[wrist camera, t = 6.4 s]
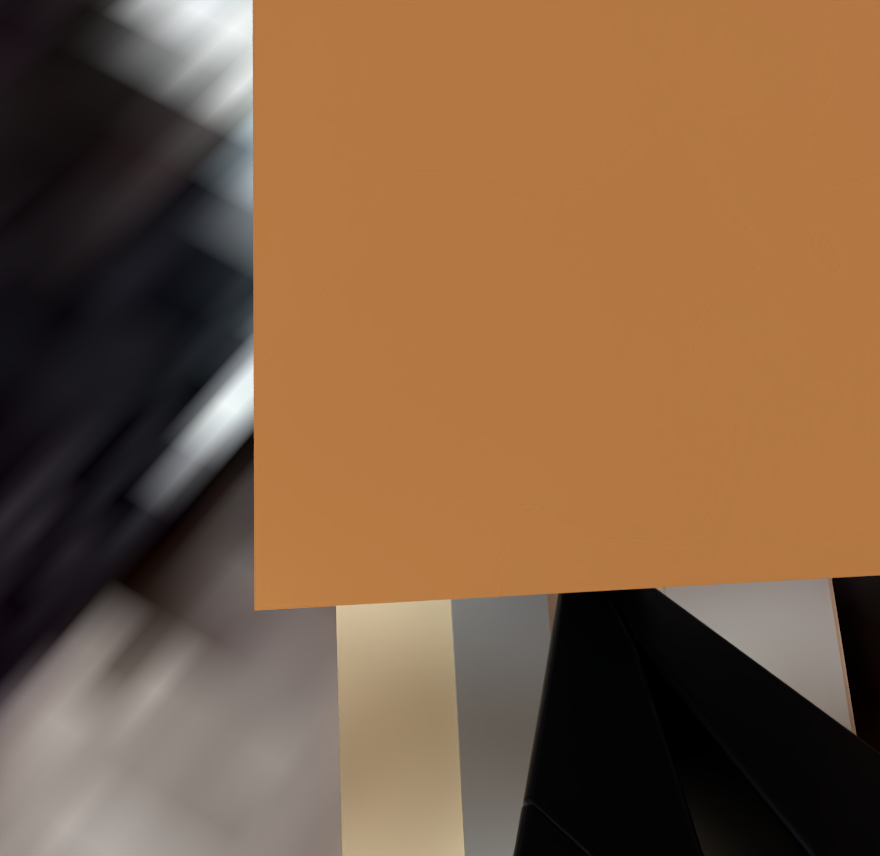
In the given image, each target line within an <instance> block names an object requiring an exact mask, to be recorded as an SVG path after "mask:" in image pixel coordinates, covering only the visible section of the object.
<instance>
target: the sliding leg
mask: <svg viewBox="0 0 880 856" xmlns="http://www.w3.org/2000/svg"><path fill="white" fill-rule="evenodd" d="M253 257H254V600H255V610H271V609H289V608H307V607H324V606H342V605H360V604H378V603H396V602H413V601H431V600H449V599H467V598H484V597H502V596H520V595H538V594H556V593H573V592H591V591H609V590H627V589H644V588H662V587H680V586H698V585H715V584H733V583H751V582H769V581H787V580H804V579H822V578H840V577H858V576H875V575H880V0H253Z"/></svg>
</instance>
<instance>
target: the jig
mask: <svg viewBox="0 0 880 856" xmlns="http://www.w3.org/2000/svg"><path fill="white" fill-rule="evenodd" d="M657 589H658V590H659V591H661V592H662V593H663V594H665V595H666V596H667V597H669V598H670V599H672V600H673V601H674V602H676V603H677V604H678V605H680V606H681V607H682V608H684V609H685V610H686V611H688V612H689V613H691V614H692V615H693V616H695V617H696V618H697V619H699V620H700V621H701V622H703V623H704V624H706V625H707V626H708V627H710V628H711V629H712V630H714V631H715V632H716V633H718V634H719V635H720V636H722V637H723V638H725V639H726V640H727V641H729V642H730V643H731V644H733V645H734V646H735V647H737V648H738V649H739V650H741V651H742V652H744V653H745V654H746V655H748V656H749V657H750V658H752V659H753V660H754V661H756V662H757V663H759V664H760V665H761V666H763V667H764V668H765V669H767V670H768V671H769V672H771V673H772V674H773V675H775V676H776V677H778V678H779V679H780V680H782V681H783V682H784V683H786V684H787V685H788V686H790V687H791V688H793V689H794V690H795V691H797V692H798V693H799V694H801V695H802V696H803V697H805V698H806V699H807V700H809V701H810V702H812V703H813V704H814V705H816V706H817V707H818V708H820V709H821V710H822V711H824V712H825V713H827V714H828V715H829V716H831V717H832V718H833V719H835V720H836V721H837V722H839V723H840V724H841V725H843V726H844V727H846V728H847V729H848V730H850V731H851V732H852V733H854V734H855V735H856V729H855V723H854V717H853V710H852V704H851V698H850V691H849V685H848V679H847V672H846V666H845V660H844V653H843V647H842V641H841V634H840V628H839V622H838V615H837V609H836V603H835V596H834V590H833V584H832V578H822V579H804V580H787V581H769V582H751V583H733V584H715V585H698V586H680V587H662V588H657ZM557 597H558V593H556V594H538V595H520V596H502V597H484V598H467V599H449V600H431V601H413V602H396V603H378V604H360V605H342V606H336V618H337V658H338V699H339V739H340V780H341V820H342V856H513V852H514V848H515V842H516V836H517V831H518V825H519V819H520V813H521V808H522V807H523V798H524V792H525V786H526V780H527V774H528V769H529V763H530V757H531V751H532V745H533V739H534V733H535V727H536V721H537V715H538V709H539V703H540V697H541V691H542V686H543V680H544V674H545V668H546V662H547V656H548V650H549V644H550V638H551V632H552V626H553V620H554V614H555V608H556V602H557Z"/></svg>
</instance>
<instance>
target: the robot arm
mask: <svg viewBox="0 0 880 856" xmlns="http://www.w3.org/2000/svg"><path fill="white" fill-rule="evenodd" d="M513 856H880V752H878V751H877V750H875V749H874V748H873V747H871V746H870V745H869V744H867V743H866V742H865V741H863V740H862V739H861V738H859V737H858V736H856V735H855V734H854V733H852V732H851V731H850V730H848V729H847V728H846V727H844V726H843V725H841V724H840V723H839V722H837V721H836V720H835V719H833V718H832V717H831V716H829V715H828V714H827V713H825V712H824V711H822V710H821V709H820V708H818V707H817V706H816V705H814V704H813V703H812V702H810V701H809V700H807V699H806V698H805V697H803V696H802V695H801V694H799V693H798V692H797V691H795V690H794V689H793V688H791V687H790V686H788V685H787V684H786V683H784V682H783V681H782V680H780V679H779V678H778V677H776V676H775V675H773V674H772V673H771V672H769V671H768V670H767V669H765V668H764V667H763V666H761V665H760V664H759V663H757V662H756V661H754V660H753V659H752V658H750V657H749V656H748V655H746V654H745V653H744V652H742V651H741V650H739V649H738V648H737V647H735V646H734V645H733V644H731V643H730V642H729V641H727V640H726V639H725V638H723V637H722V636H720V635H719V634H718V633H716V632H715V631H714V630H712V629H711V628H710V627H708V626H707V625H706V624H704V623H703V622H701V621H700V620H699V619H697V618H696V617H695V616H693V615H692V614H691V613H689V612H688V611H686V610H685V609H684V608H682V607H681V606H680V605H678V604H677V603H676V602H674V601H673V600H672V599H670V598H669V597H667V596H666V595H665V594H663V593H662V592H661V591H659V590H658V589H657V588H644V589H627V590H609V591H591V592H573V593H558V597H557V602H556V608H555V614H554V620H553V626H552V632H551V638H550V644H549V650H548V656H547V662H546V668H545V674H544V680H543V686H542V691H541V697H540V703H539V709H538V715H537V721H536V727H535V733H534V739H533V745H532V751H531V757H530V763H529V769H528V774H527V780H526V786H525V792H524V798H523V807H522V808H521V813H520V819H519V825H518V831H517V836H516V842H515V848H514V852H513Z"/></svg>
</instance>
